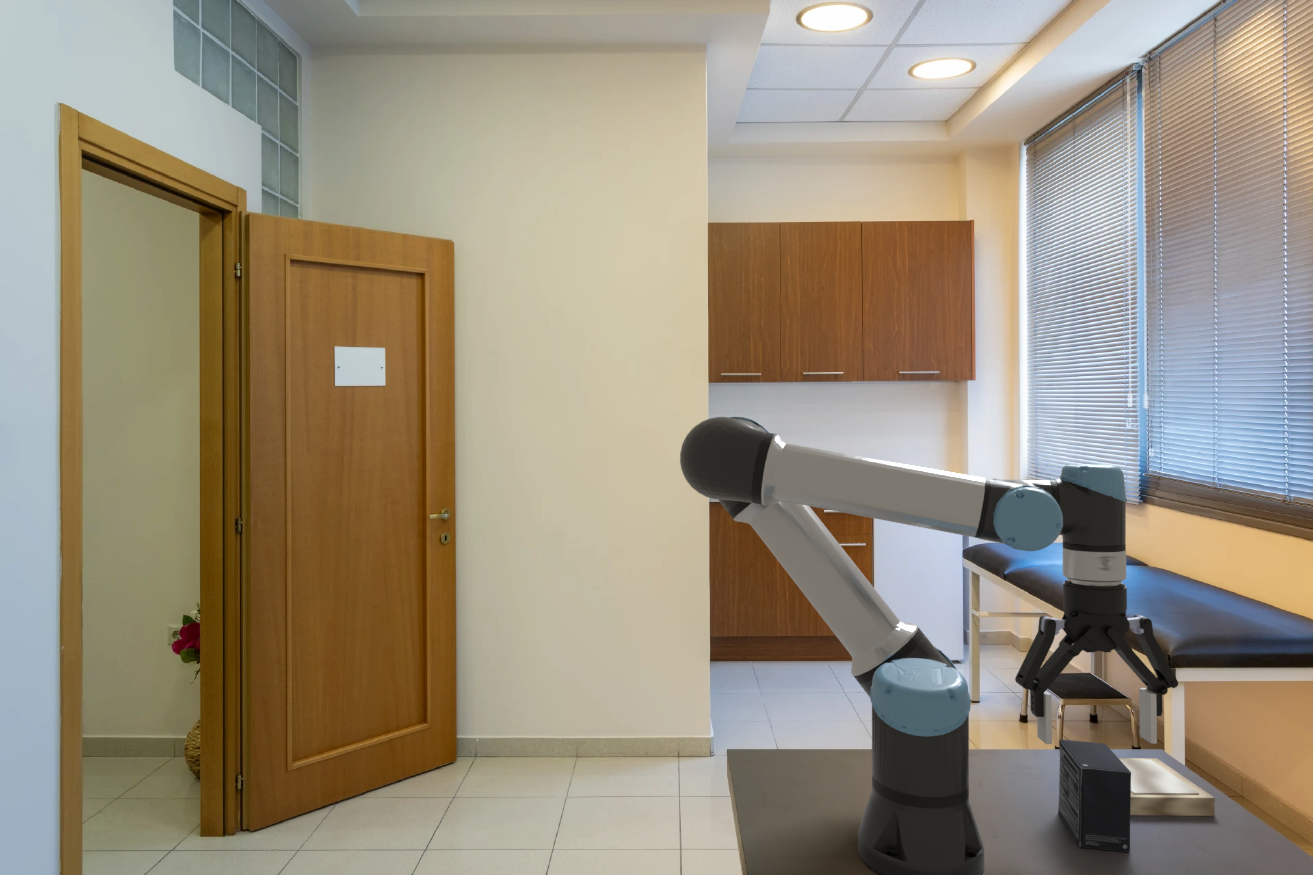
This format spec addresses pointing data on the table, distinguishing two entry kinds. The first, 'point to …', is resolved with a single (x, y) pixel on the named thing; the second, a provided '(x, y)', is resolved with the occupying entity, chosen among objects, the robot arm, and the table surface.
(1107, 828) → the small box
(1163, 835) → the table surface
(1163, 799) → the beech picture frame
